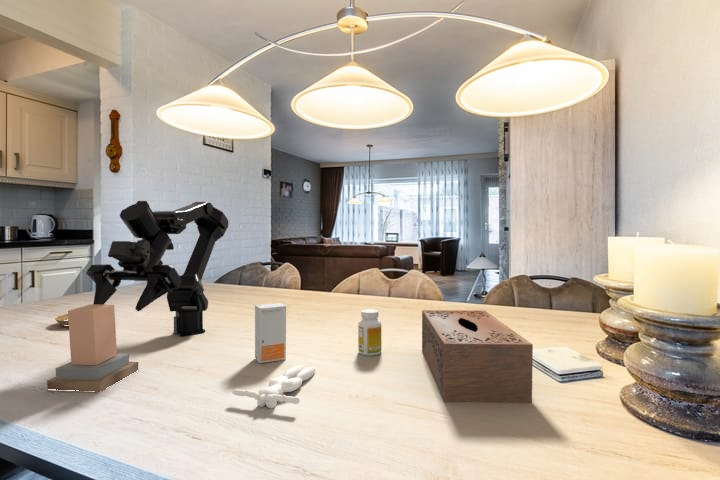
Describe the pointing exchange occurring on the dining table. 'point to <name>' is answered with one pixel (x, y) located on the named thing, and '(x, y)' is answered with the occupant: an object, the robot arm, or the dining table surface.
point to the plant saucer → (62, 319)
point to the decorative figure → (279, 387)
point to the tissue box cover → (476, 357)
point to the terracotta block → (92, 334)
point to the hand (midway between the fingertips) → (115, 309)
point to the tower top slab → (92, 369)
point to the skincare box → (270, 332)
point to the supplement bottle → (369, 333)
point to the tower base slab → (93, 384)
